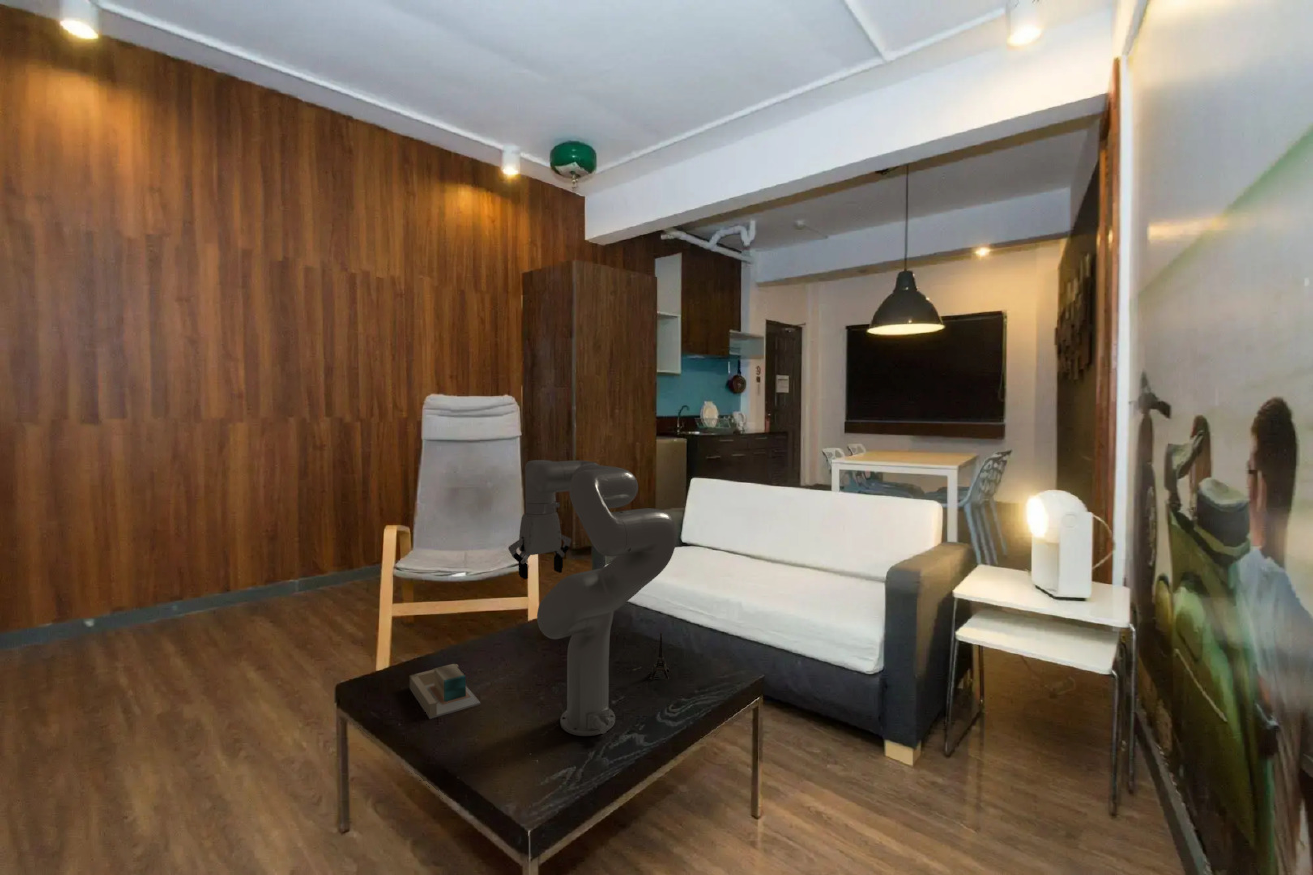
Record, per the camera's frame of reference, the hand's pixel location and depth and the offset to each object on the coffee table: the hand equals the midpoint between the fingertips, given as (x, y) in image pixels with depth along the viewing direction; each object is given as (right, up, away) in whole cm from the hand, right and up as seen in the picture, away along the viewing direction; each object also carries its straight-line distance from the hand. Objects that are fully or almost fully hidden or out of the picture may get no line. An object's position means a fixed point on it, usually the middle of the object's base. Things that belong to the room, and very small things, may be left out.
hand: (541, 574), depth 156 cm
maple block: (-22, -29, -3) cm, 37 cm away
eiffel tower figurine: (+31, -30, +9) cm, 44 cm away
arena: (-23, -30, -4) cm, 38 cm away
